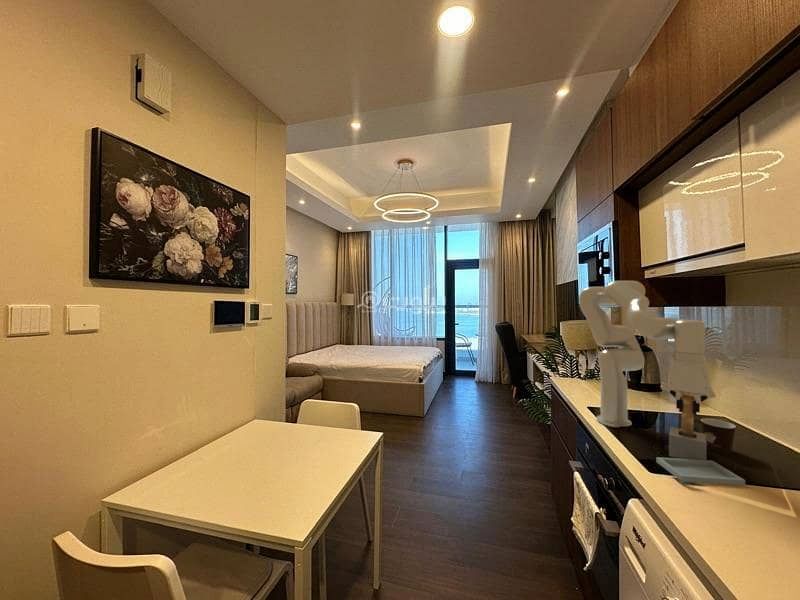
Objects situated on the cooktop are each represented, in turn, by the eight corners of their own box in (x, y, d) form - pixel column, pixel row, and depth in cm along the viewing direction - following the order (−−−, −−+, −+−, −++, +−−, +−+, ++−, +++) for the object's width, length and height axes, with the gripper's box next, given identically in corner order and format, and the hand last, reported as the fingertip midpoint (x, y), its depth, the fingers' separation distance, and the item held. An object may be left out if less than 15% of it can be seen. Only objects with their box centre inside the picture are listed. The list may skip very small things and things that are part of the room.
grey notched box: (668, 458, 107) (669, 434, 107) (670, 449, 113) (670, 426, 113) (706, 468, 101) (706, 443, 101) (705, 458, 107) (705, 434, 107)
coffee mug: (742, 459, 107) (743, 429, 107) (712, 456, 108) (712, 427, 108) (716, 443, 118) (716, 416, 118) (688, 441, 120) (689, 414, 120)
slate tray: (656, 465, 103) (656, 457, 103) (712, 468, 101) (712, 460, 101) (681, 484, 92) (681, 476, 92) (745, 489, 90) (745, 480, 90)
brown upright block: (681, 438, 107) (681, 396, 107) (681, 435, 109) (682, 394, 109) (693, 441, 105) (694, 398, 105) (693, 438, 107) (694, 396, 107)
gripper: (656, 355, 110) (655, 409, 110) (724, 362, 98) (723, 422, 99) (658, 352, 115) (657, 404, 115) (723, 359, 104) (721, 415, 104)
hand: (687, 412), depth 107 cm, fingers closed on brown upright block, 3 cm apart
